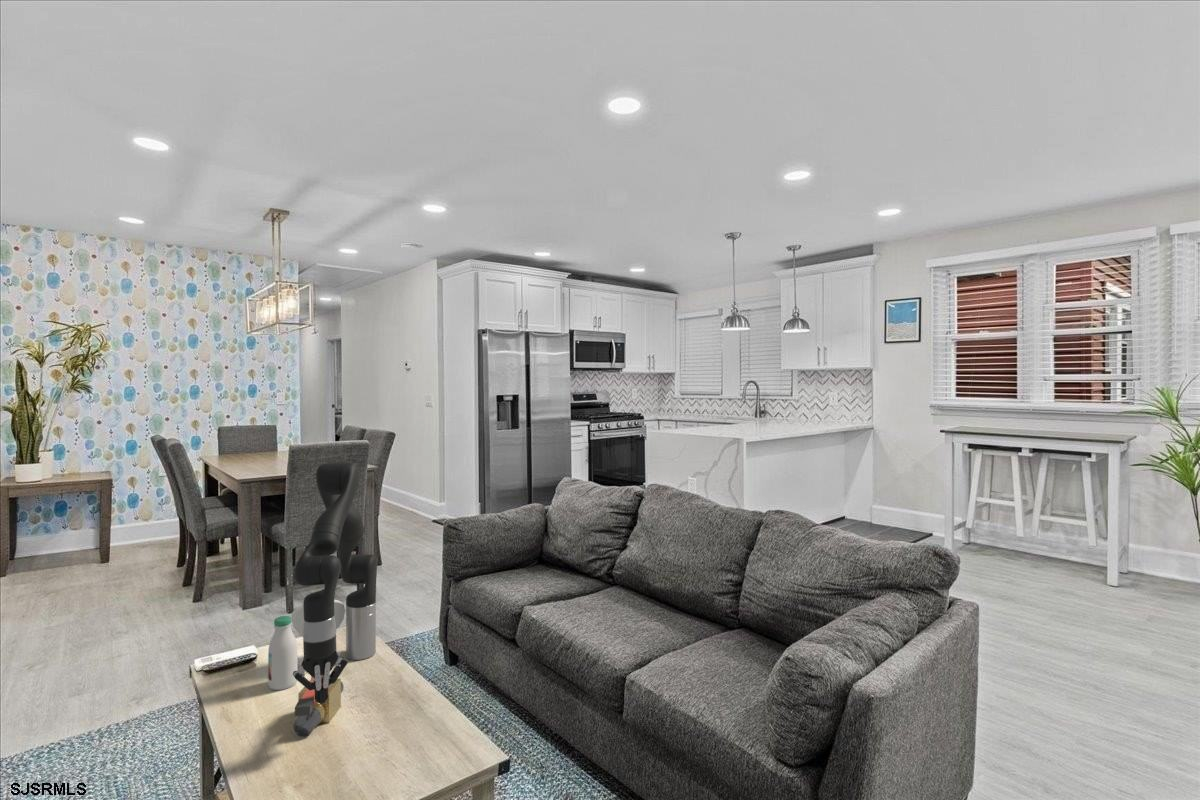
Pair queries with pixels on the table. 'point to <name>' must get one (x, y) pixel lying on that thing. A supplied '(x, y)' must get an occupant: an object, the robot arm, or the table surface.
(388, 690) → the table surface
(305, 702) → the lever
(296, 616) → the heart sculpture
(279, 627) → the milk bottle
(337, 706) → the valve body
